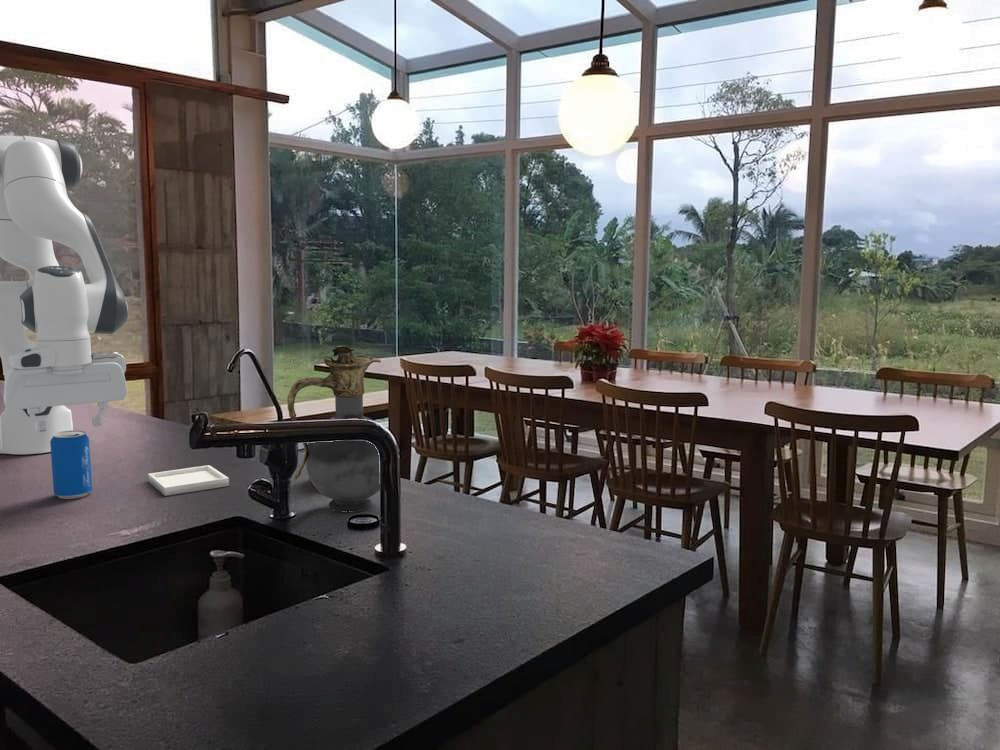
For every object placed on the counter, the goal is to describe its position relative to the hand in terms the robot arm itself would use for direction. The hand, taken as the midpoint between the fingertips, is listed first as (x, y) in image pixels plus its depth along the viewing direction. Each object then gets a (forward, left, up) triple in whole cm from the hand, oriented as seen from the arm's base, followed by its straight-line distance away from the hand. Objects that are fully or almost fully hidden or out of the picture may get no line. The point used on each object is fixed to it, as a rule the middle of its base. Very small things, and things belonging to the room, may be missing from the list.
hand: (69, 428), depth 151 cm
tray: (+4, +20, -13) cm, 24 cm away
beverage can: (-1, 0, -13) cm, 13 cm away
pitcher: (+36, +38, -13) cm, 54 cm away
